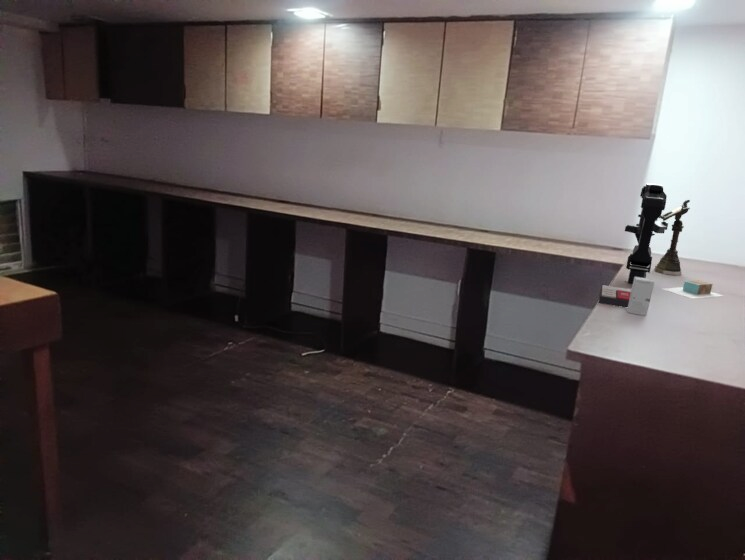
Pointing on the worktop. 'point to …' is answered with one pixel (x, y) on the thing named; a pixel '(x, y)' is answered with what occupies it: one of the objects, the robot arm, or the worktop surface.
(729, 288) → the worktop surface
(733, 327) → the worktop surface
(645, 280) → the skincare box
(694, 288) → the wooden block
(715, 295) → the white mat
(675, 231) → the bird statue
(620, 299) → the white black red box
